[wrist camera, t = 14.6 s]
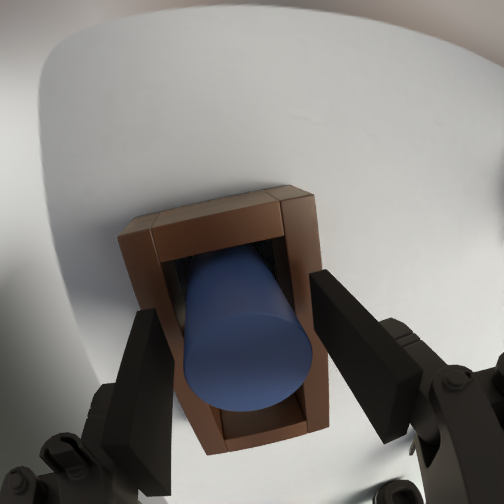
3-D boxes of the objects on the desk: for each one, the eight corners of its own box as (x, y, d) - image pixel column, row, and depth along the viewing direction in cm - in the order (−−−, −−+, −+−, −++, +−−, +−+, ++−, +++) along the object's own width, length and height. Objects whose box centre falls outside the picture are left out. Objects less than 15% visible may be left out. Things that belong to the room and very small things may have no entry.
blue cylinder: (259, 229, 16) (309, 298, 9) (270, 299, 18) (315, 395, 10) (180, 245, 16) (166, 328, 8) (197, 314, 17) (202, 420, 10)
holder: (290, 184, 16) (314, 194, 12) (313, 393, 21) (329, 427, 17) (133, 217, 15) (116, 236, 12) (203, 419, 20) (206, 456, 17)
